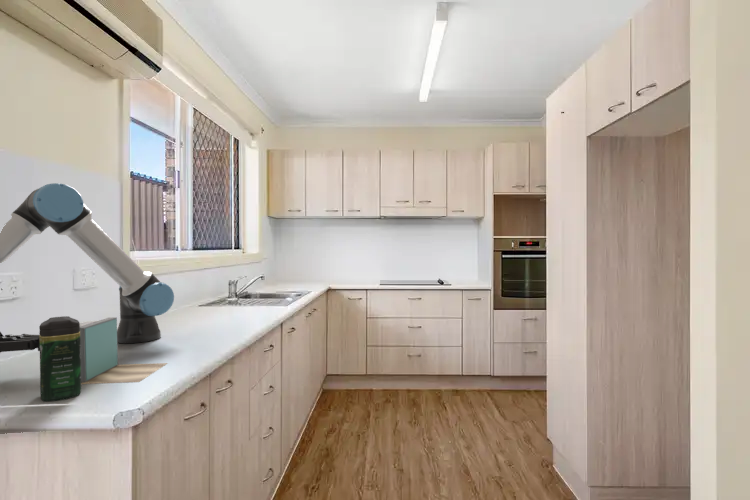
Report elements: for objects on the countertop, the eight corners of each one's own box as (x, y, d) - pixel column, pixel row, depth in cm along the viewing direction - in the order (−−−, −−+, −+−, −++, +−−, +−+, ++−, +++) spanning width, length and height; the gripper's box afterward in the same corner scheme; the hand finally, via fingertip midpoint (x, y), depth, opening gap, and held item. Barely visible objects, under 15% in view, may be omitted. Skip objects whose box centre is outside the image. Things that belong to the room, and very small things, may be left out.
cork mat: (105, 366, 130) (105, 364, 130) (168, 364, 131) (168, 363, 131) (65, 385, 112) (65, 384, 112) (139, 383, 113) (139, 381, 113)
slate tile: (110, 365, 129) (108, 317, 129) (118, 365, 129) (117, 317, 129) (76, 382, 113) (74, 327, 113) (85, 382, 113) (84, 327, 113)
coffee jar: (83, 398, 103) (81, 317, 103) (40, 405, 98) (38, 321, 98) (80, 387, 111) (78, 313, 110) (40, 394, 106) (38, 316, 106)
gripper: (-2, 351, 126) (84, 349, 127) (-42, 364, 113) (54, 361, 114) (-3, 325, 126) (84, 323, 127) (-43, 334, 113) (53, 332, 114)
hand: (70, 341), depth 121 cm, fingers closed
